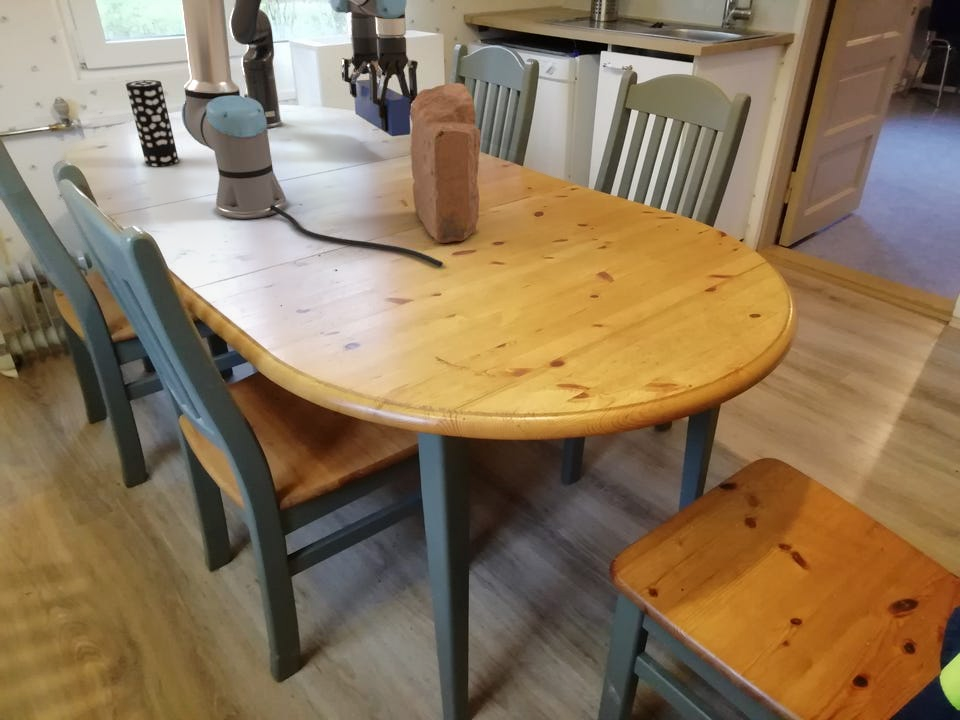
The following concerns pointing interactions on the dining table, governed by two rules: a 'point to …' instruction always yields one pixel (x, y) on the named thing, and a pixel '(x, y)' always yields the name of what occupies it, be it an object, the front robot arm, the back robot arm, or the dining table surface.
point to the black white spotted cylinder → (152, 122)
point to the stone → (445, 161)
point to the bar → (395, 109)
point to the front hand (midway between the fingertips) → (395, 128)
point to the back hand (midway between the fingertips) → (368, 95)
